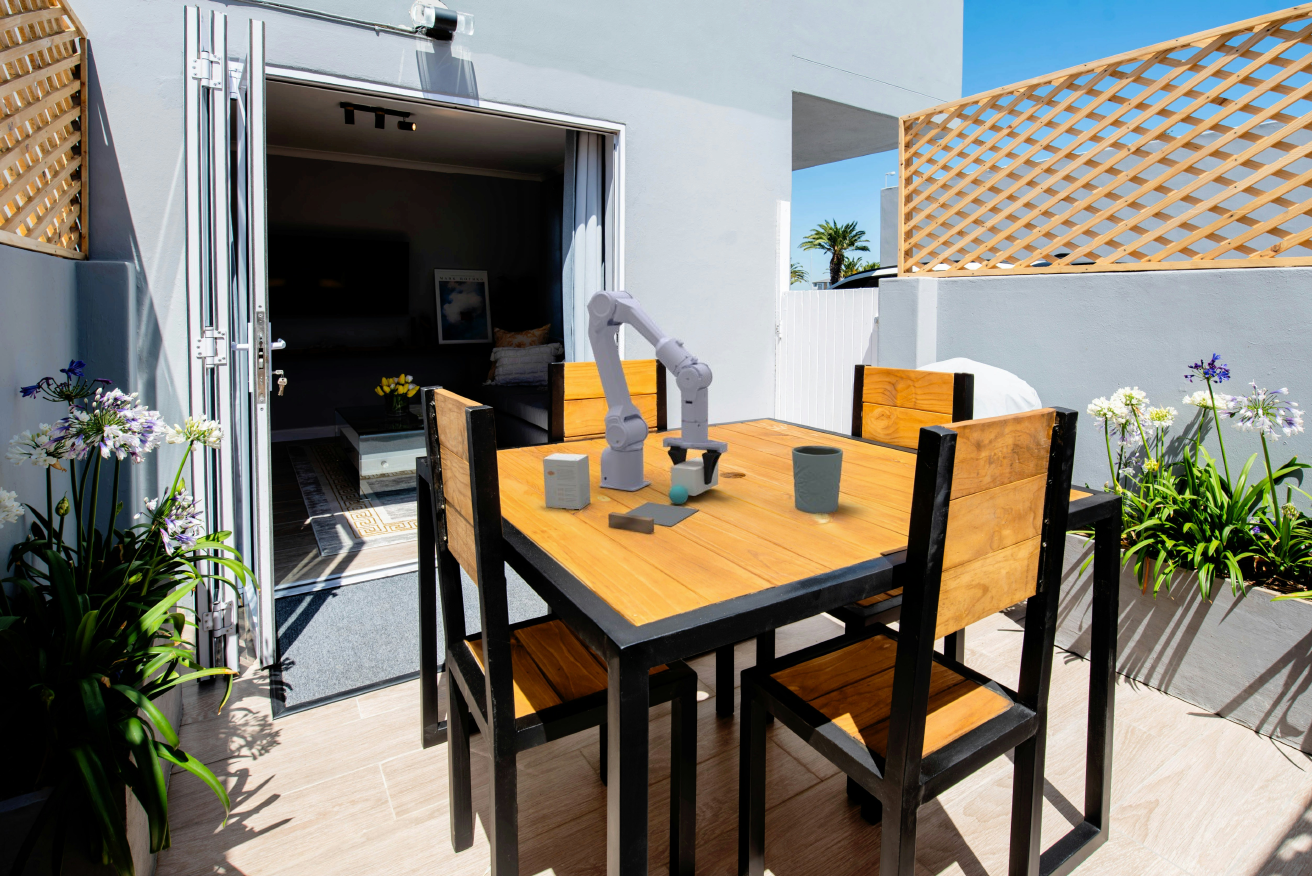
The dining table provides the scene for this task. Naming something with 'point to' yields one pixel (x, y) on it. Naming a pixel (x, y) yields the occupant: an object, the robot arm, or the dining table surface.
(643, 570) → the dining table surface
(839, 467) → the grey green tumbler
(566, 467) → the small box
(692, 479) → the white rectangular block
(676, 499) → the ball
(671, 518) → the thin grey square plate
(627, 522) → the brown rectangular bar
